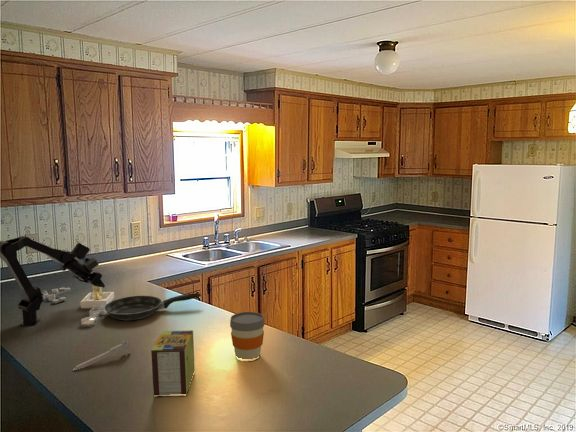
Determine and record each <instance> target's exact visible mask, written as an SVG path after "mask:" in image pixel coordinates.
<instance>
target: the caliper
mask: <svg viewBox="0 0 576 432" xmlns="http://www.w3.org/2000/svg"><path fill="white" fill-rule="evenodd" d="M127 340H128V339H126V338H125V339H124V340H122V341H121V342H122V343H120V344H117V345H116V346H113V347H112V348H110V349H109V350H107V351H106V352H103V353H101V354H99V355H97V356H95V357H93V358H90V359H89V360H86V361H84V362H82V363H79V364H78V365H76V366H75V367H74V368H72V371H73V372H74V370H75V371H79V370H81V368H82V369H85V368H86V367H89V366H91V365H94V364H95V363H97V362H100V361H101V360H103V359H105V358H108V357H110V356H112V357H114V356H116V355H118V354H119V353H122V355H123V356H124V355H125V354H126V355H127V353H128V354H129V353H131V354H132V351H131V344H130V342H129V341H127ZM125 349H126V350H127V353H126V350H125ZM78 369H79V370H78Z"/></svg>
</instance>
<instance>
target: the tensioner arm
mask: <svg viewBox="0 0 576 432" xmlns="http://www.w3.org/2000/svg"><path fill="white" fill-rule="evenodd" d="M106 314H108V312H107V311H106V310H105V306H94V307H93V308H90V310H89V311H88V316H86V317H83V318H81V320H80V322H81V327H82V326H83V328H91V327H94V326H96V325H97V320H98V319H99V317H100V316H105V315H106ZM97 318H98V319H97ZM95 324H96V325H95ZM93 325H94V326H93ZM90 326H91V327H90Z"/></svg>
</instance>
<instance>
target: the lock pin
mask: <svg viewBox="0 0 576 432" xmlns="http://www.w3.org/2000/svg"><path fill="white" fill-rule="evenodd" d="M102 290H103V289H102V287H98V286H93V285H92V293H93V301H95V300H102V292H103V291H102Z"/></svg>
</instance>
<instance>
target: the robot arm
mask: <svg viewBox="0 0 576 432" xmlns="http://www.w3.org/2000/svg"><path fill="white" fill-rule="evenodd" d="M25 247H27V248H29V249H31V250H33V251H36V252H39V253H40V254H43V255H45V256H47V257H48V258H49V259H50V260H52V261H53V262H56V263H60V264H59V267H60V268H59V270H60V271H63V272H65V271H66V270H68V271H69V272H70V273H71V274H72V277H73V279H74V280H76V281H79V282H83V283H86V284H89V285H91V286H92V287H93V286H98V287H101V288H105V287H106V285H105V283H104V282H103V279H102V277H103V274H102V273H101V272H99V271H94V270H93V269H95V268H96V267H97V266H99V265H100V264H99V261H98V260H97V259H96V258H94V257H89V258H88V257H87V255H88V254H89V252H90V251H91V249H90V247H88V246H86V245H85V244H82V243H81V242H77V243H76V245H75V246H74V248H73V249H72V250H71V251H69V250H67V251H66V250H62V249H57V248H53V247H52V246H49V245H47V244H44V243H42V242H41V241H40V242H39V241H37V240H35V239H33V238H30V237H29V236H25V235H20V236H18V237H15V238H11V239H7V240H4V241H3V240H0V260H1V261H3V262H4V263H5V264H6V265H7V268H8V269H9V271H10V272H11V275H12V276H13V278H14V280H15V281H16V283H17V285H18V287H19V288H20V296H21V298H22V299H21V300H20V302H19V303H18V304H17V308H18V309H19V310H21V316H22V322H21V323H19V326H21V327H22V326H35V325H37V324H38V323H39V322H40V321H41V320H42V319H41V318H38V311H39V310H40V309H41V306H42V305H41V304H42V303H43V301H44V299H43V296H42V295H44V294H42V293H41V291H42V290H41V289H40V287H38V286H35V285H33V284H32V283H31V281H30V280H29V278H28V276H27V274H26V272H25V271H24V268H23V267H22V264H21V263H20V261H19V259H18V252H17V251H20V250H22V249H23V248H25ZM79 261H83V264H82V263H81V262H79ZM93 271H94V272H93Z"/></svg>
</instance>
